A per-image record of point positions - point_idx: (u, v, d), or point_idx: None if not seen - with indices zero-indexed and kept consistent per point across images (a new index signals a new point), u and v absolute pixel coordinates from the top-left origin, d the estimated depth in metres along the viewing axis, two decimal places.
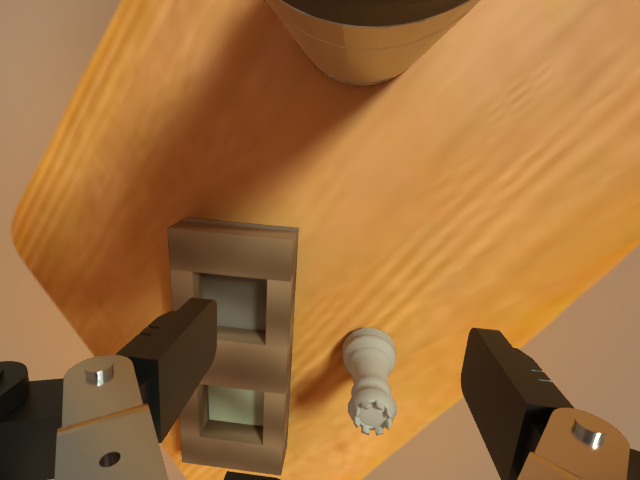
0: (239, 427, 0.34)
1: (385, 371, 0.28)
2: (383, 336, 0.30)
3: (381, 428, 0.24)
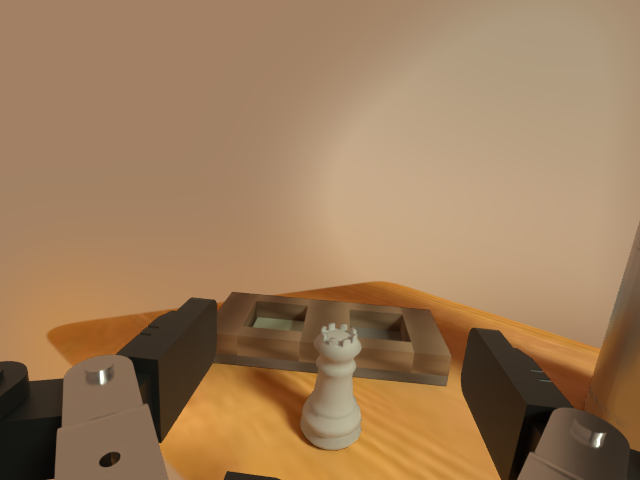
0: None
1: (345, 394, 0.25)
2: (354, 434, 0.26)
3: (326, 338, 0.25)
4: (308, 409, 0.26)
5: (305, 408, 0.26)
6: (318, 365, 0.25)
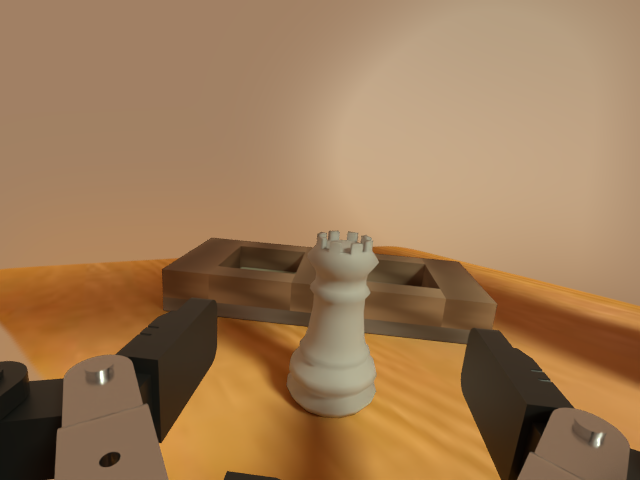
0: None
1: (353, 332, 0.17)
2: (365, 396, 0.17)
3: (325, 244, 0.16)
4: (298, 357, 0.18)
5: (294, 357, 0.18)
6: (313, 288, 0.17)
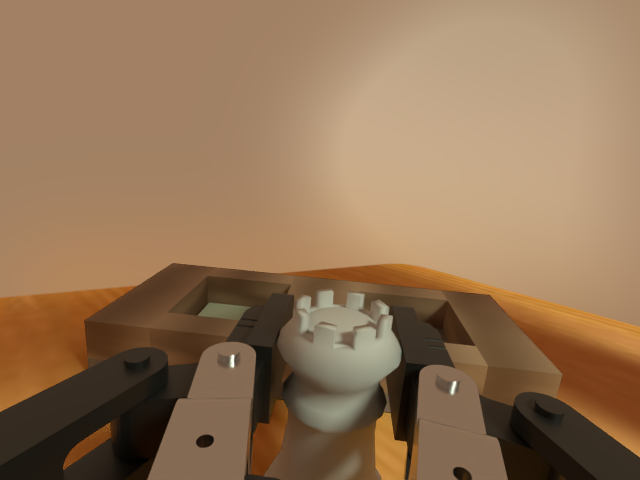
0: None
1: (356, 476, 0.09)
2: None
3: (307, 324, 0.09)
4: None
5: None
6: (287, 397, 0.10)
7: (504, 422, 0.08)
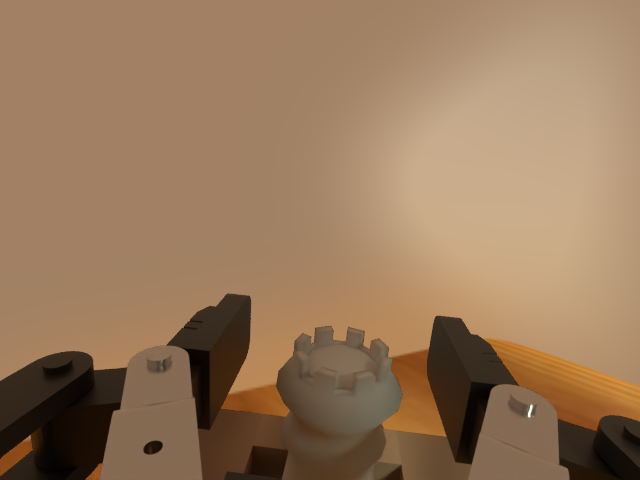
0: None
1: None
2: None
3: (308, 368, 0.09)
4: None
5: None
6: (287, 437, 0.10)
7: (588, 449, 0.07)
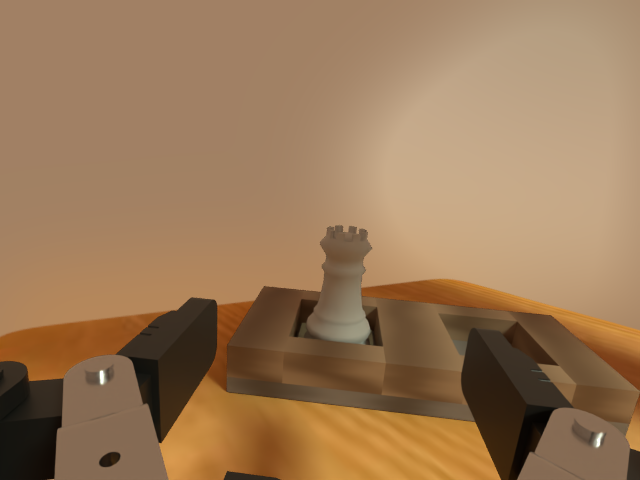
0: None
1: (353, 298, 0.23)
2: None
3: (333, 235, 0.22)
4: (313, 319, 0.24)
5: (309, 319, 0.24)
6: (324, 267, 0.23)
7: None
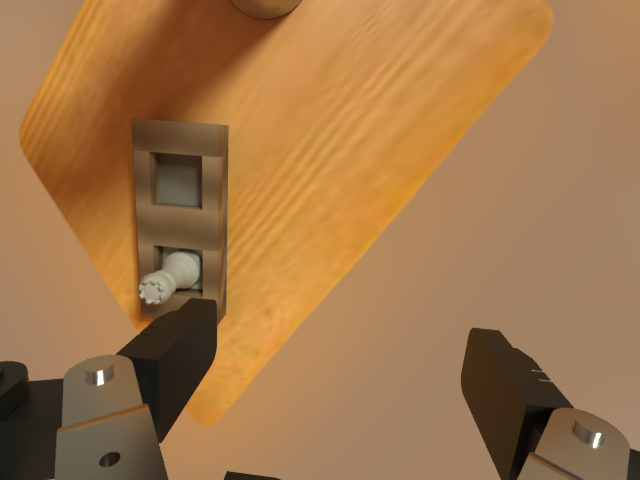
0: (187, 290, 0.43)
1: (179, 272, 0.39)
2: (192, 254, 0.42)
3: (158, 300, 0.36)
4: (184, 286, 0.41)
5: (182, 287, 0.42)
6: None
7: None
